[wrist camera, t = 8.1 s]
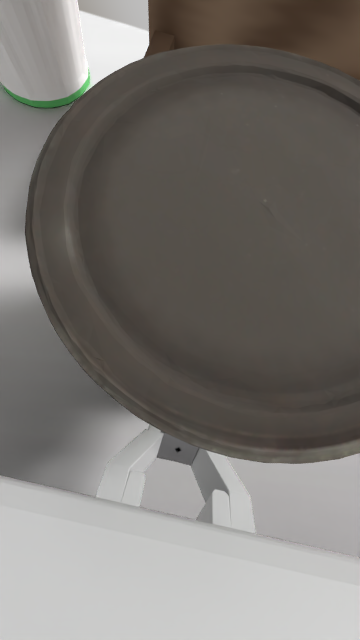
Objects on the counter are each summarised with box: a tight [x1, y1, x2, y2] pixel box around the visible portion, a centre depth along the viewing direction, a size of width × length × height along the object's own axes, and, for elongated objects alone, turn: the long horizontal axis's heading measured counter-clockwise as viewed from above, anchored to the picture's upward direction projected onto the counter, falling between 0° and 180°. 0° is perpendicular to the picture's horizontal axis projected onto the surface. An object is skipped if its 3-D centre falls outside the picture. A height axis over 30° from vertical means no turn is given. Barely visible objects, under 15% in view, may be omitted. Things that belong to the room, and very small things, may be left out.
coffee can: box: [25, 44, 360, 464], centre depth 12 cm, size 10×10×14 cm
